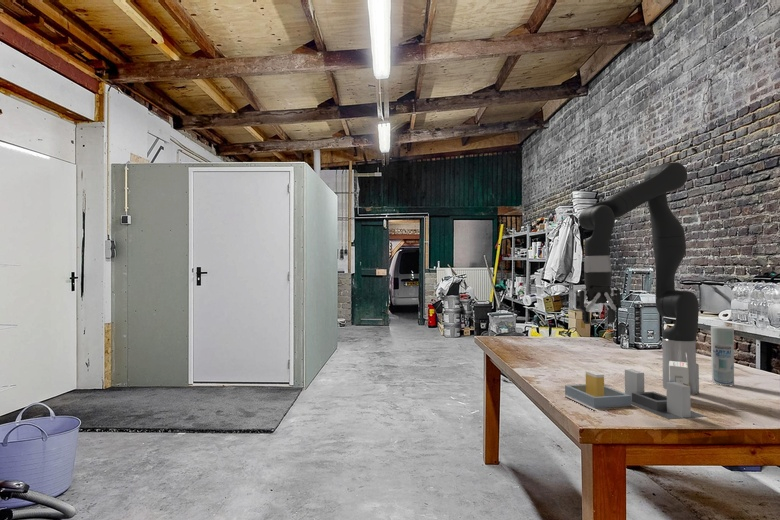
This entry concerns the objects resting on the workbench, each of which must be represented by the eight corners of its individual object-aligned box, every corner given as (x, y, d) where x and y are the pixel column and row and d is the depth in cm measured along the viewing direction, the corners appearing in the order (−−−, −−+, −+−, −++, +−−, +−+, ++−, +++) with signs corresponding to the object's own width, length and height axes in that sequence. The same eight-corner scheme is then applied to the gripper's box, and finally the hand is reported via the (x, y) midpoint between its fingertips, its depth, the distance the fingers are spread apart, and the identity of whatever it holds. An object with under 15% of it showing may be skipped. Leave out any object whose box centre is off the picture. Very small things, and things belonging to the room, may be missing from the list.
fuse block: (644, 397, 138) (643, 368, 138) (707, 420, 117) (706, 386, 117) (610, 399, 136) (610, 369, 136) (668, 423, 114) (668, 388, 114)
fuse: (593, 397, 135) (593, 370, 135) (604, 401, 130) (604, 374, 130) (585, 397, 135) (585, 371, 135) (596, 402, 130) (596, 374, 130)
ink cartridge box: (669, 398, 137) (668, 350, 138) (688, 400, 135) (687, 352, 135) (669, 404, 130) (668, 355, 130) (689, 407, 127) (689, 356, 128)
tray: (599, 395, 139) (599, 383, 140) (631, 409, 126) (631, 395, 126) (565, 397, 137) (564, 385, 137) (594, 411, 123) (594, 398, 124)
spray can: (733, 383, 156) (732, 326, 156) (735, 387, 150) (734, 328, 151) (710, 380, 159) (710, 325, 160) (712, 384, 154) (711, 327, 154)
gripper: (609, 270, 141) (610, 320, 141) (569, 271, 138) (571, 322, 138) (626, 270, 134) (627, 323, 133) (585, 271, 131) (586, 325, 130)
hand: (598, 323), depth 136 cm, fingers open, 8 cm apart
